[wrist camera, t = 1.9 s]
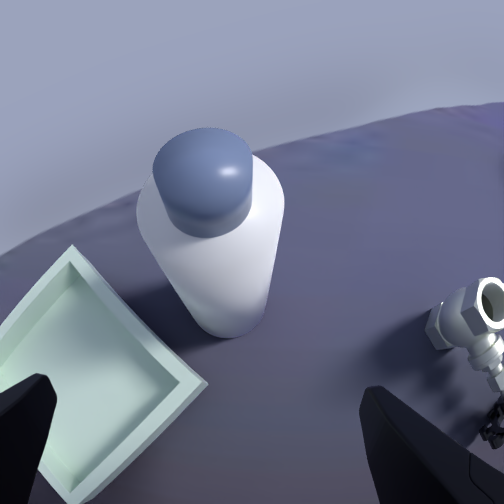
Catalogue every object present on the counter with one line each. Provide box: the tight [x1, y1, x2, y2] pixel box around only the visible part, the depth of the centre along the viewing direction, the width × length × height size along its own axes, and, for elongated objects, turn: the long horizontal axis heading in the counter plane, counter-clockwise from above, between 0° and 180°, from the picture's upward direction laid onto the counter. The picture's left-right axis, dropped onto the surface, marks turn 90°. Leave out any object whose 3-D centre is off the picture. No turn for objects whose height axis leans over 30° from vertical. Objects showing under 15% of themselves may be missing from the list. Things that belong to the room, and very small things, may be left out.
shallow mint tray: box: [0, 245, 208, 504], centre depth 17 cm, size 12×12×4 cm
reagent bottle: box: [136, 128, 284, 338], centre depth 15 cm, size 5×5×14 cm
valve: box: [425, 278, 504, 449], centre depth 16 cm, size 7×7×12 cm
